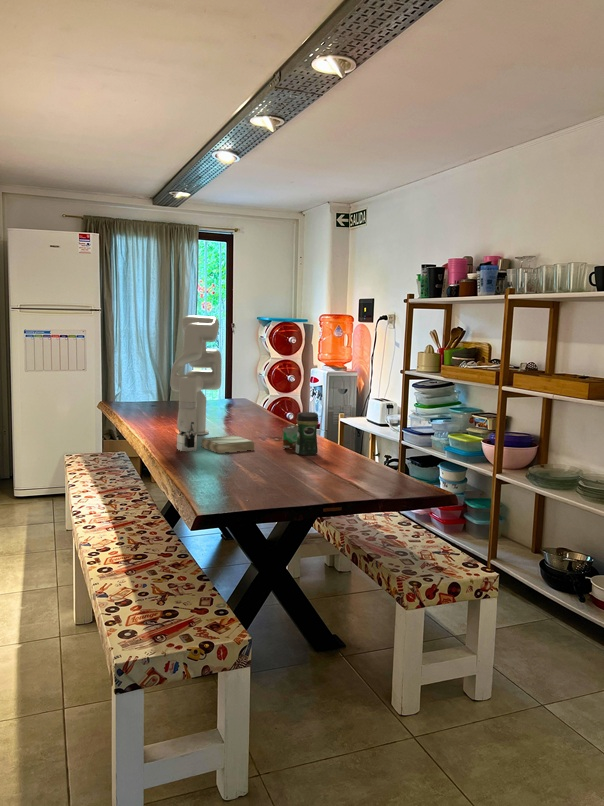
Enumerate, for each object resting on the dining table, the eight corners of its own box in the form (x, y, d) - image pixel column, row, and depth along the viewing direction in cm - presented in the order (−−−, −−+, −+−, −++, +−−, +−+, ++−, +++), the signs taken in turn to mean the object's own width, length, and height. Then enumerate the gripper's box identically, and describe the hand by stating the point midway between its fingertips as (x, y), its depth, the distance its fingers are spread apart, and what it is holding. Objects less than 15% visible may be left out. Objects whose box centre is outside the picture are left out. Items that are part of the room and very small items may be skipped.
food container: (295, 450, 294) (296, 428, 293) (282, 449, 295) (283, 427, 294) (301, 445, 306) (302, 424, 305) (288, 444, 307) (289, 423, 306)
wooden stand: (201, 446, 294) (201, 438, 294) (236, 443, 304) (236, 435, 304) (218, 453, 281) (218, 444, 281) (254, 450, 292) (254, 441, 291)
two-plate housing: (176, 449, 286) (177, 433, 285) (191, 448, 290) (191, 432, 289) (181, 451, 282) (182, 435, 281) (196, 450, 286) (197, 434, 285)
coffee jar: (314, 452, 293) (316, 410, 291) (319, 455, 286) (321, 413, 284) (293, 452, 291) (295, 410, 289) (297, 455, 283) (299, 413, 281)
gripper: (171, 403, 288) (170, 443, 290) (188, 408, 274) (187, 450, 276) (186, 402, 292) (186, 441, 295) (204, 407, 278) (203, 448, 281)
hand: (186, 445), depth 285 cm, fingers open, 6 cm apart
